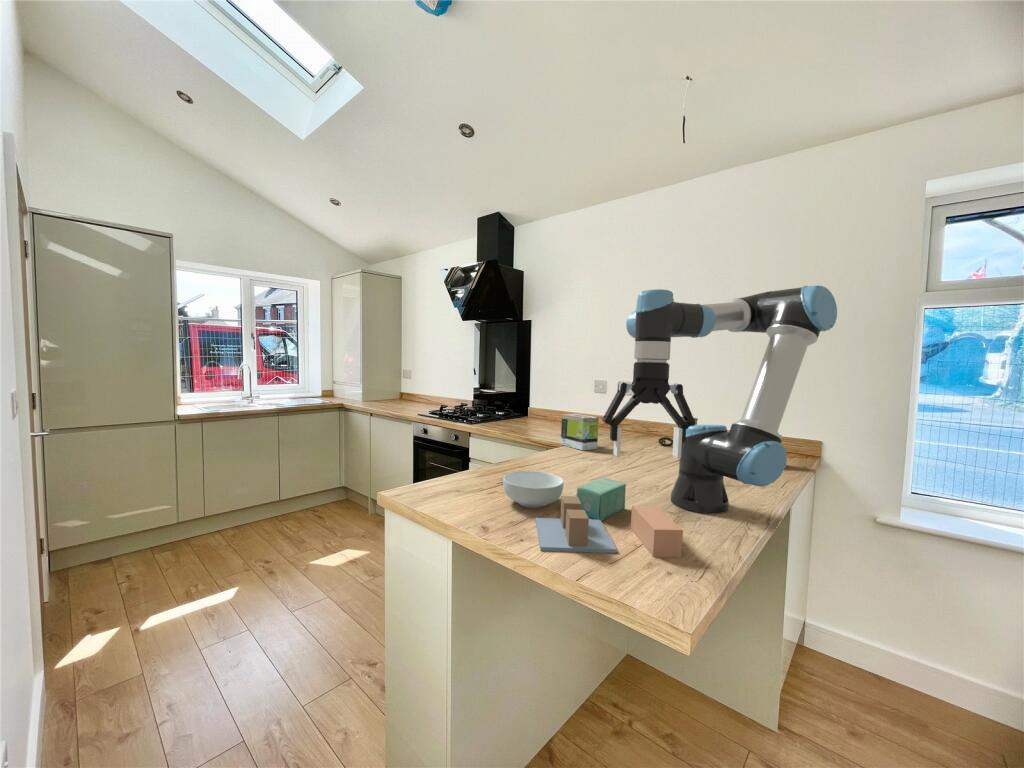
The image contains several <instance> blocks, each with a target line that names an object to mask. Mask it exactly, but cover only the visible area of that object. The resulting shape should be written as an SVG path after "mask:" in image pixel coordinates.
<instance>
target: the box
mask: <svg viewBox="0 0 1024 768" xmlns="http://www.w3.org/2000/svg"><path fill="white" fill-rule="evenodd" d="M626 485H627V483H625V482H621V481H617V480H614V479H611V478H607V477H601V478H598V479H596V480H593V481H591V482H588V483H585V484H583V485H580V486H578V487H577V489H576V497H578V498H579V500H580V502H581V510H585V512H586V514H587V516H588V518H589V519H591V520H600V521H601V522H602V521H604V520H605V519H607V518H609V517H611V516H613V515H615V514H617V513H618V512H620V511H622V510H624V509H625V508H626V489H627V487H626Z"/></svg>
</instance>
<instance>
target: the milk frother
mask: <svg viewBox="0 0 1024 768" xmlns="http://www.w3.org/2000/svg"><path fill="white" fill-rule="evenodd" d="M681 417H682V419H683V420H684V418H683V416H681ZM693 418H694V420H695V425H698V420H699V419H698V417H697V418H696V417H693ZM684 421H685V420H684ZM657 441H658V444H659V445H662V446H664V447H671V446H672V447H673V439H672V438H671V437H668V436H667V437H666V436H663V437H660V438H659V439H658V440H657ZM667 441H670V443H667Z"/></svg>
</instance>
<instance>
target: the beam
mask: <svg viewBox="0 0 1024 768" xmlns="http://www.w3.org/2000/svg"><path fill="white" fill-rule="evenodd" d="M630 517H631V518H630V530H631V531H632V533H633V535H635V537H636V538H637V539H638V540H639V541H640V543H641V544H642V545H643V547H644V548H645V549H646V550H647V552H648V553H649V554H650V556H652V557H653V558H682V553H683V551H682V550H683V535H684V530H683V529H682V527H680V526H679V525H678V524H677V523H676V522H675V521H674V520H673V519H672V518H671V517H670V516H668V515H667V514H666V513H665V512H663V510H662V509H660V508H659V507H658V506H657V505H631V515H630Z"/></svg>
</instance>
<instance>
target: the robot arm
mask: <svg viewBox="0 0 1024 768" xmlns="http://www.w3.org/2000/svg"><path fill="white" fill-rule="evenodd" d="M837 306H838V305H837V303H836V300H835V296H834V294H833V293H832V291H830V289H828V287H826V286H823V285H803V286H801V287H793V288H786V289H779V290H778V289H777V290H770V291H764V292H759V293H756V294H752V295H747V296H744V297H736V298H735V297H734V298H731V299H729V300H728V301H726V302H720V303H719V302H717V303H709V304H708V303H705V304H700V303H686V302H677V301H675V299H674V293H673V291H671V290H668V289H660V288H658V289H656V288H655V289H645V290H643V291H642V290H641V291H640V292H639V294H638V295H637V299H636V308H635V311H632V312H630V314H629V315H628V316H627V318H626V320H625V321H626V322H625V323H626V324H625V326H626V331H627V333H628V335H629V336H630V337H632V338H633V339H634V354H633V355H634V357H633V358H634V360H636V361H634V362H633V371H632V374H633V375H632V376H633V377H632V383H628V382H624V381H619V383H618V384H617V385H618V386H617V391H616V394H615V395H614V397H613V399H612V400H611V403H610V404H609V406H608V408H607V410H606V412H605V413H604V415H603V417H602V418H601V419H602V420H601V421H602V422H603V423H605V424H607V425H608V426H609V427H610V429H609V430H610V431H609V439H610V441H612V442H613V455H614V456H615V457H616V458H620V457H621V451H622V450H621V449H622V448H621V444H622V428H623V427H621V426H620V424H621V423H622V422H623V421H624V419H626V418H627V417H628V415H629V414H630V413H631V412H632V411H633V410H634V409H635V408H636V406H639V405H640V403H642V404H654V405H658V404H660V405H661V406H662V407H663V409H664V410H665V411H666V412H667V414H668V415H669V416H670V417H671V419H672V421H674V423H675V424H676V425H677V426H673V435H672V437H673V439H672V440H673V445H672V455H671V456H672V457H675V458H676V459H679V462H678V463H679V466H678V467H679V468H678V476H677V479H676V480H675V483H674V485H673V488H672V490H671V493H670V502H671V503H673V504H674V505H675V506H677V507H678V508H681V509H683V510H687V511H690V512H691V511H692V512H695V513H701V514H711V515H712V514H713V515H715V514H716V515H717V514H723V513H726V512H728V511H729V506H730V503H729V502H730V501H729V498H728V494H727V490H726V486H725V482H724V477H726V478H728V479H732V480H734V481H738V482H741V483H742V484H744V485H751V486H756V487H766V486H767V487H768V486H770V485H771V484H774V483H775V482H776V481H778V479H779V478H780V477H781V476H782V474H783V473H784V470H785V469H786V465H787V461H788V458H787V450H786V448H785V446H784V445H783V444H782V442H783V438H782V435H781V434H780V433H779V428H780V426H781V423H782V420H783V417H784V414H785V411H786V408H787V406H788V403H789V400H790V397H791V394H792V392H793V388H794V386H795V383H796V379H797V378H798V374H799V372H800V368H801V367H802V363H803V359H804V357H805V356H806V355H805V354H806V351H807V349H808V346H810V345H814V344H815V343H816V342H818V339H819V336H820V333H821V332H826V331H830V330H831V329H832V328H833V327H834V326H835V324H836V322H837V317H838V307H837ZM718 331H728V332H731V333H743V332H746V333H749V332H750V333H760V334H761V333H763V334H764V333H765V334H767V336H768V337H769V340H768V344H767V346H766V348H765V352H764V354H763V357H762V359H761V363H760V365H759V368H758V370H757V374H756V375H755V379H754V382H753V385H752V386H751V387H752V388H751V390H750V393H749V394H748V395H749V396H748V398H747V401H746V403H745V407H744V409H743V412H742V415H741V418H740V419H739V420H737V421H735V422H732V423H731V426H730V429H729V431H728V429H727V425H723V424H697V425H695V420H694V418H695V417H694V416H693V414H692V412H691V409H690V407H689V405H688V402H687V400H686V398H685V395H684V385H682V384H681V383H674V384H670V383H669V379H670V363H669V362H668V361H670V359H671V346H672V345H671V342H672V338H684V337H685V338H692V339H693V338H695V339H697V338H703V337H707V336H708V335H710V334H711V333H712V332H718ZM630 390H631V392H632V393H633V395H632V396H631V397H630V398H629V399H628V401H627V403H625V404H624V405H623V407H622V408H621V409H620V410H619V407H620V406H621V403H622V401H624V399H625V396H626V394H627V393H629V391H630ZM669 392H671V394H673V397H674V399H675V402H676V404H677V407H678V409H679V412H680V413H681V414H679V412H678V411H677V409H675V408H676V407H674V405H673V404H672V403H671V401H670V399H669V398H668V396H667V395H668V394H669ZM618 410H619V411H618ZM617 411H618V412H617ZM616 412H617V413H616ZM681 415H682V416H681ZM682 417H683V418H684V420H685V421H684V420H683V419H682ZM780 435H781V436H780ZM673 504H672V505H673Z"/></svg>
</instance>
